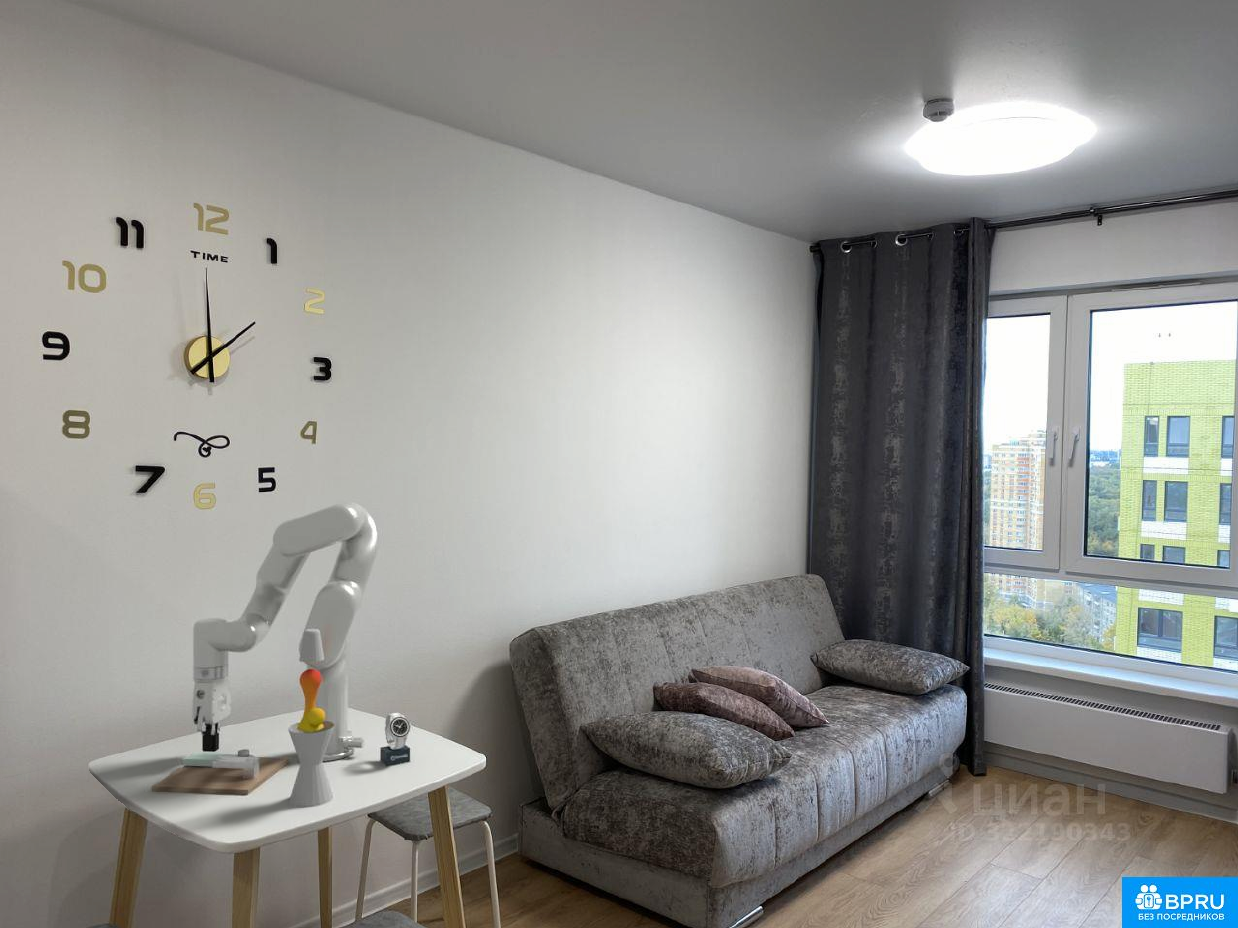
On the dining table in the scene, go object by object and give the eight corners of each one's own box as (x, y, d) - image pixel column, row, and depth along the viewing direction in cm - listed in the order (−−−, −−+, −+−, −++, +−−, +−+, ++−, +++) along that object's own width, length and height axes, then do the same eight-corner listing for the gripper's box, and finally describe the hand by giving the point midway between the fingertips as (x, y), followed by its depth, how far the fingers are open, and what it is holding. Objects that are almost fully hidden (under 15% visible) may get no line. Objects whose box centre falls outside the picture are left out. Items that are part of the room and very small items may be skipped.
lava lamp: (278, 801, 188) (279, 630, 188) (314, 787, 196) (314, 623, 196) (308, 810, 184) (308, 635, 183) (343, 796, 191) (344, 628, 191)
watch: (390, 768, 208) (390, 720, 208) (377, 758, 215) (377, 711, 215) (413, 763, 211) (413, 716, 211) (400, 754, 218) (400, 708, 218)
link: (257, 761, 208) (257, 754, 208) (248, 767, 204) (248, 761, 204) (193, 759, 210) (193, 752, 210) (182, 765, 205) (182, 758, 205)
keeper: (259, 774, 201) (259, 757, 201) (253, 779, 198) (253, 761, 198) (219, 772, 202) (219, 756, 202) (212, 777, 199) (212, 760, 199)
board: (289, 762, 212) (289, 743, 212) (248, 794, 192) (248, 773, 192) (201, 759, 213) (201, 740, 213) (151, 790, 193) (151, 770, 193)
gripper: (211, 680, 207) (210, 761, 207) (241, 665, 222) (241, 740, 222) (178, 679, 207) (178, 760, 207) (210, 664, 222) (210, 740, 222)
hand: (210, 750), depth 215 cm, fingers closed
